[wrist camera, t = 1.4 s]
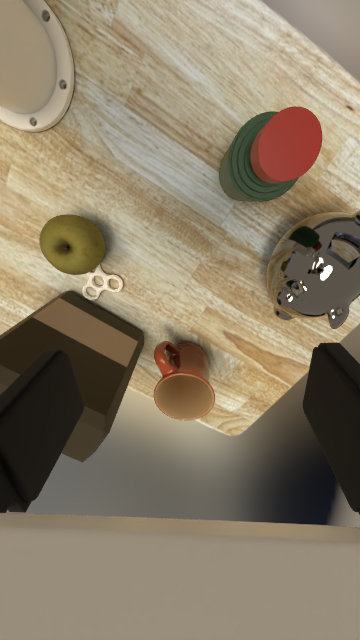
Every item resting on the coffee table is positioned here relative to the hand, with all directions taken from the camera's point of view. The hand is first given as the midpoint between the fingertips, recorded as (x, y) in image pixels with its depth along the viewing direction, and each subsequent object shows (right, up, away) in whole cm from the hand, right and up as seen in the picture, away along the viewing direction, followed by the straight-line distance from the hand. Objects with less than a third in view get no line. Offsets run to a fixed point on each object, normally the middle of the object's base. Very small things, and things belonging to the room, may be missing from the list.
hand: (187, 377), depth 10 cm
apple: (-14, +14, +27) cm, 34 cm away
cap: (+7, +13, +6) cm, 16 cm away
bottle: (-14, +1, +34) cm, 37 cm away
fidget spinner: (-12, +9, +30) cm, 34 cm away
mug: (0, -3, +35) cm, 35 cm away
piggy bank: (+17, +11, +26) cm, 33 cm away
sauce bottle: (+8, +21, +22) cm, 32 cm away
